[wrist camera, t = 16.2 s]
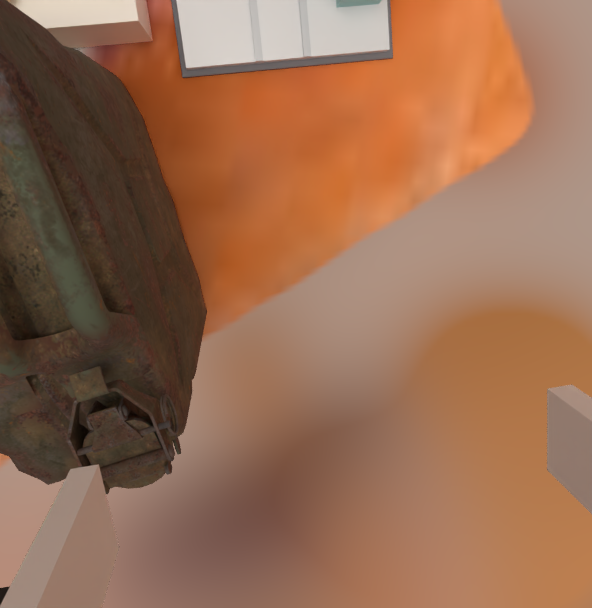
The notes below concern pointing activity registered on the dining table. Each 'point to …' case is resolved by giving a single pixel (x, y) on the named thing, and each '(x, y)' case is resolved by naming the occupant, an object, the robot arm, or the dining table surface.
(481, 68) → the dining table surface
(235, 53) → the lid
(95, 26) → the tub
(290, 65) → the mat
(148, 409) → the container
